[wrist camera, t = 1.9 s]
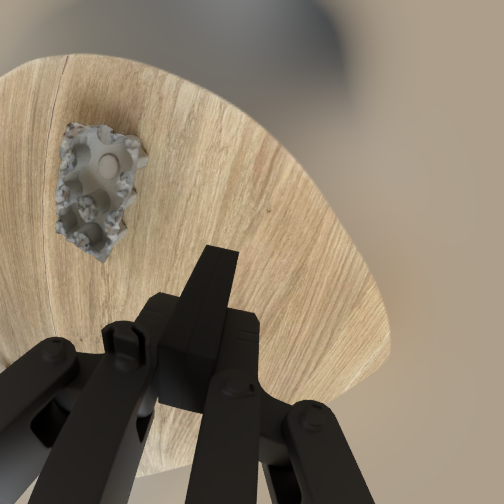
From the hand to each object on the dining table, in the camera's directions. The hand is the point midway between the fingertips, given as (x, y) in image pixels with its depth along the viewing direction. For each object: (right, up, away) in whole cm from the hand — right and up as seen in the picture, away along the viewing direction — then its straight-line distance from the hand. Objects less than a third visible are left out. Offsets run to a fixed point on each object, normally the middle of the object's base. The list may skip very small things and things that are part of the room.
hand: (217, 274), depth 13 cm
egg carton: (-11, +7, +9) cm, 16 cm away
